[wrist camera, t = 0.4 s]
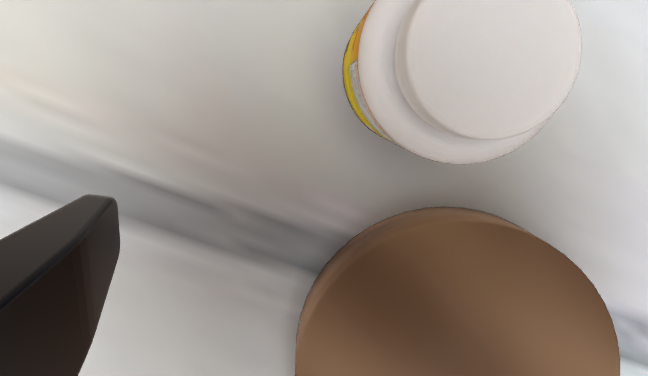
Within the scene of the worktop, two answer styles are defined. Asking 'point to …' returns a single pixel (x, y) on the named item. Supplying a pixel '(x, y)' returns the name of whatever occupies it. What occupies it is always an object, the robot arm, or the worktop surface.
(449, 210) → the walnut platform
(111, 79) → the worktop surface
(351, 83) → the supplement bottle
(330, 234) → the worktop surface
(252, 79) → the worktop surface
